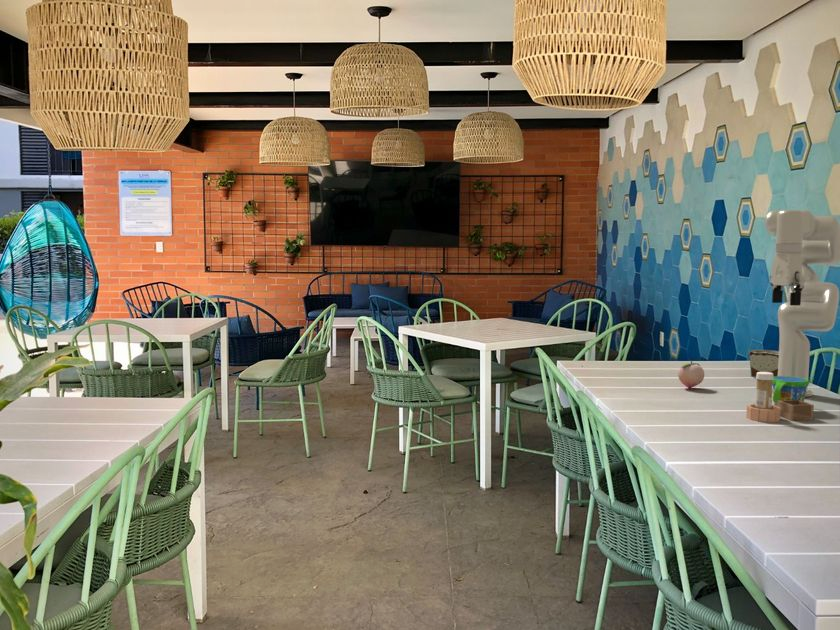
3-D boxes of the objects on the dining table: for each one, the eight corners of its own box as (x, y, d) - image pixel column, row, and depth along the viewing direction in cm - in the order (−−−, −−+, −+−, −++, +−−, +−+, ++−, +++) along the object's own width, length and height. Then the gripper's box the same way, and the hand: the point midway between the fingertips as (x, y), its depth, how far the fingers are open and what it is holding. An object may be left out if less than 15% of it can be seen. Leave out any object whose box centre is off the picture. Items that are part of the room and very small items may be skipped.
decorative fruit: (694, 392, 281) (695, 363, 280) (673, 388, 287) (674, 360, 286) (708, 388, 287) (710, 360, 286) (687, 385, 293) (688, 357, 292)
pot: (740, 417, 243) (741, 404, 242) (768, 416, 244) (769, 403, 243) (756, 424, 234) (757, 410, 233) (786, 423, 235) (786, 409, 235)
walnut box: (776, 417, 243) (777, 400, 243) (798, 416, 244) (799, 400, 244) (790, 422, 236) (791, 405, 236) (812, 421, 237) (813, 404, 237)
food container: (784, 377, 312) (785, 351, 311) (781, 379, 307) (782, 353, 306) (750, 374, 318) (751, 348, 317) (746, 376, 313) (748, 350, 312)
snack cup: (787, 405, 260) (788, 373, 259) (818, 411, 251) (820, 378, 250) (757, 410, 252) (759, 378, 251) (789, 417, 243) (790, 383, 242)
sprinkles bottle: (774, 419, 237) (777, 373, 236) (761, 420, 236) (763, 374, 235) (764, 416, 242) (766, 371, 240) (751, 416, 241) (753, 371, 239)
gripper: (762, 249, 264) (759, 301, 266) (793, 250, 247) (790, 306, 249) (783, 249, 265) (781, 301, 267) (816, 250, 248) (813, 306, 250)
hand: (785, 304), depth 258 cm, fingers open, 9 cm apart
